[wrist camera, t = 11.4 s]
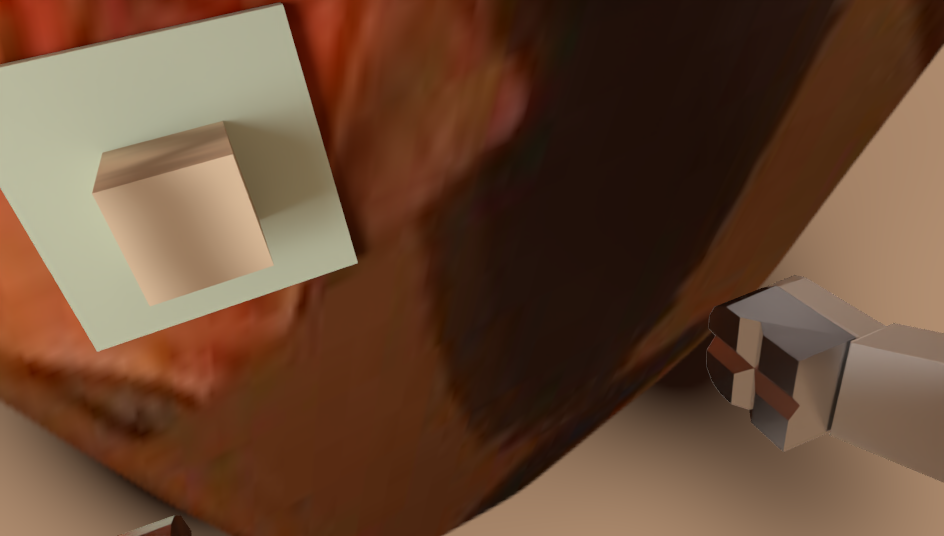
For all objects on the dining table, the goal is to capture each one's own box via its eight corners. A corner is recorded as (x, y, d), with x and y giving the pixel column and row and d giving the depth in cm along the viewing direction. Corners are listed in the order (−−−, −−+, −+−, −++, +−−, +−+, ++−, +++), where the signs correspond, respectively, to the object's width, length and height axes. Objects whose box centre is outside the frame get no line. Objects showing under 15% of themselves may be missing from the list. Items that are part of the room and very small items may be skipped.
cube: (222, 121, 28) (232, 154, 24) (259, 220, 31) (274, 265, 27) (102, 152, 27) (91, 193, 23) (151, 253, 30) (149, 306, 26)
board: (280, 2, 28) (282, 4, 27) (354, 256, 35) (357, 262, 34) (-57, 77, 25) (-63, 81, 24) (98, 342, 31) (97, 351, 31)
